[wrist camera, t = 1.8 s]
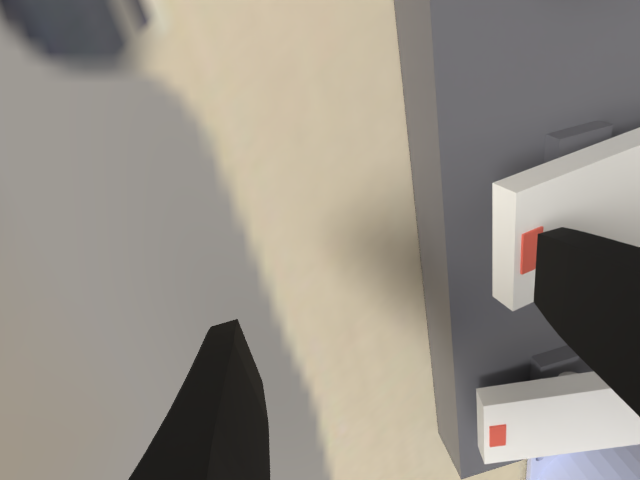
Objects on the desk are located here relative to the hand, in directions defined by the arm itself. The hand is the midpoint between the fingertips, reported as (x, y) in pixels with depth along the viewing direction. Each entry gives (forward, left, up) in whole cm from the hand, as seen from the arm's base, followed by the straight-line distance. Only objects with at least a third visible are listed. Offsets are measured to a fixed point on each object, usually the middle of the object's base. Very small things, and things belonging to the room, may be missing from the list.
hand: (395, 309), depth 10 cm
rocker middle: (0, -7, -2) cm, 7 cm away
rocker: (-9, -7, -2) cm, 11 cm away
